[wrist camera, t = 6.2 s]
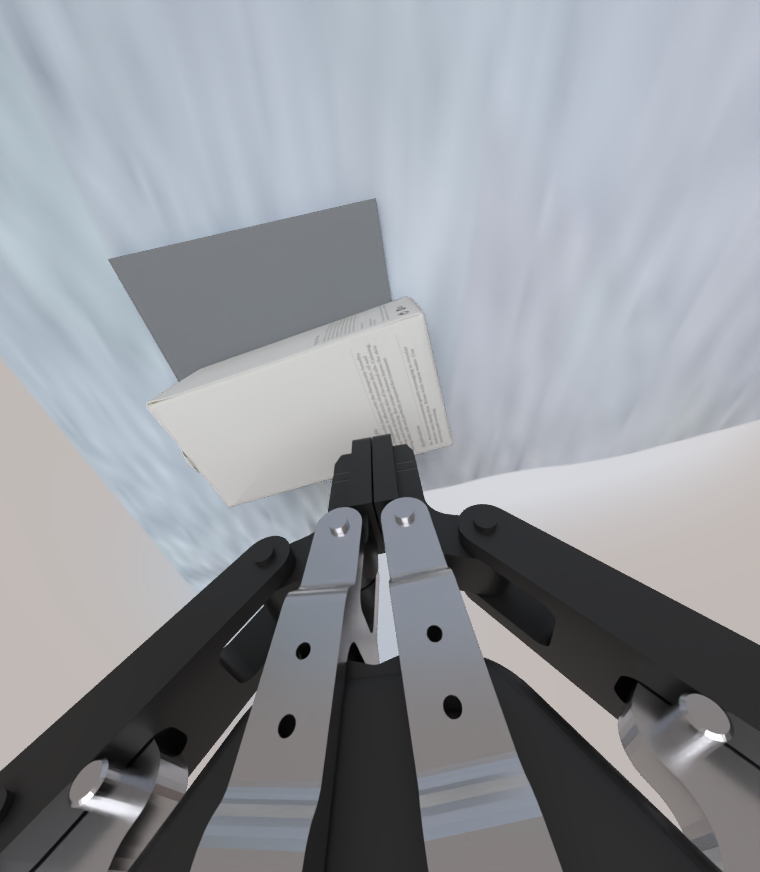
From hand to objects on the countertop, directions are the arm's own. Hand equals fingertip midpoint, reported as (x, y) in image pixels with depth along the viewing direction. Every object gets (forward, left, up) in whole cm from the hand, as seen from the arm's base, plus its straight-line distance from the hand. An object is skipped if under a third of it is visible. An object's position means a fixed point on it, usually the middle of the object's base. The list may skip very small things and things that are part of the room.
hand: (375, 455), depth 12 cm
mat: (+6, 0, -12) cm, 13 cm away
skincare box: (-4, 0, -8) cm, 9 cm away
